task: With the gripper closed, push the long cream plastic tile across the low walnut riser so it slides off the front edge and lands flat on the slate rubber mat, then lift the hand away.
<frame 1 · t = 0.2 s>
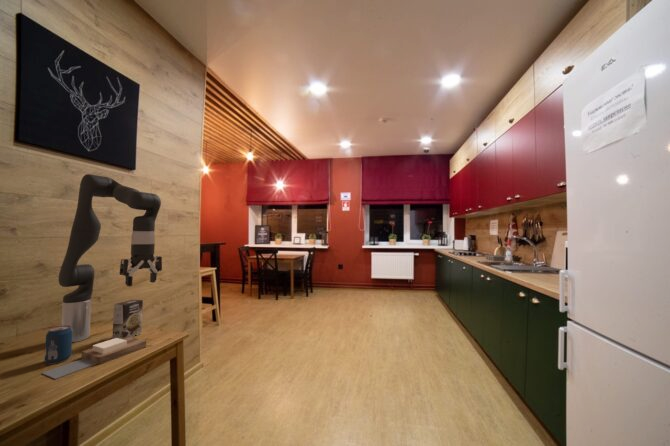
hand: (141, 284, 103), 28 cm above the table, tool pointing down, fingers open, 8 cm apart
tile: (110, 348, 104), point 2 cm above the table, touching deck
mat: (70, 368, 93), on the table
soda can: (58, 360, 99), on the table
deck: (115, 352, 106), on the table
coffee box: (127, 337, 121), on the table
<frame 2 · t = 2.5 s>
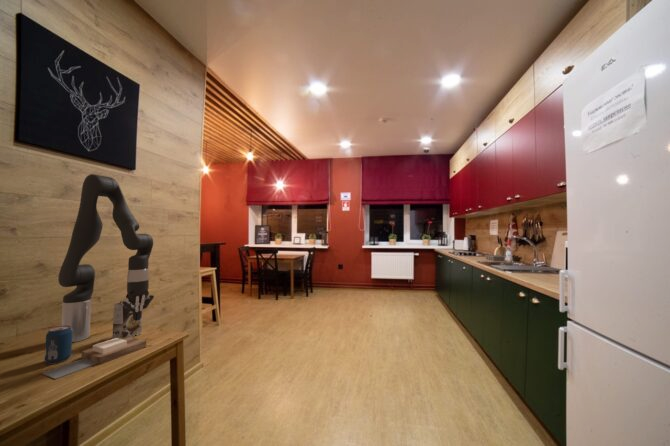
hand: (137, 320, 113), 11 cm above the table, tool pointing down, fingers closed
nothing on the table moved.
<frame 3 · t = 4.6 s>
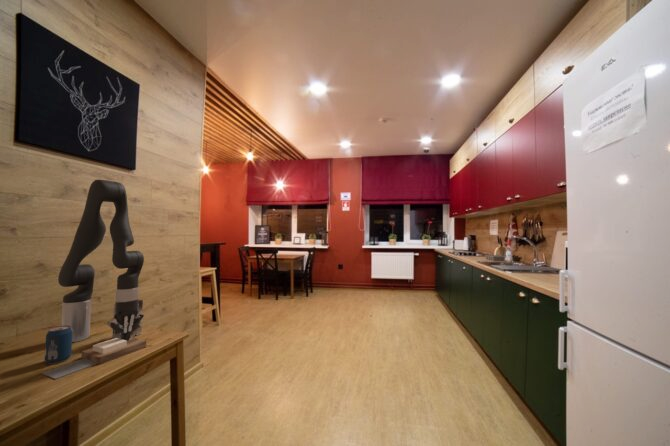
hand: (125, 340, 109), 3 cm above the table, tool pointing down, fingers closed
tile: (110, 348, 104), point 3 cm above the table, touching gripper
everything else where it was.
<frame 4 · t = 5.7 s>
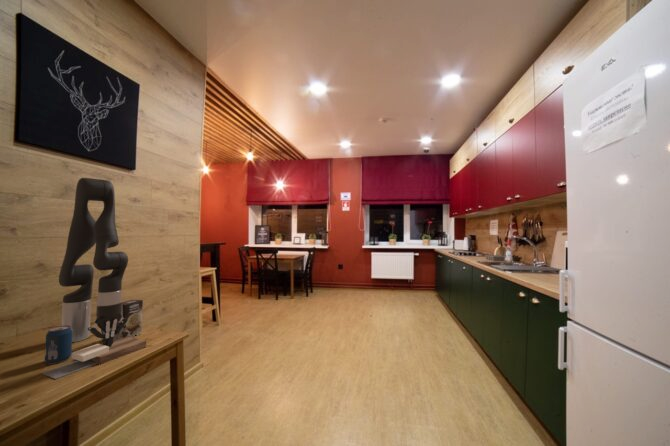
hand: (107, 346, 103), 3 cm above the table, tool pointing down, fingers closed
tile: (90, 355, 98), point 2 cm above the table, touching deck, gripper
everything else where it was.
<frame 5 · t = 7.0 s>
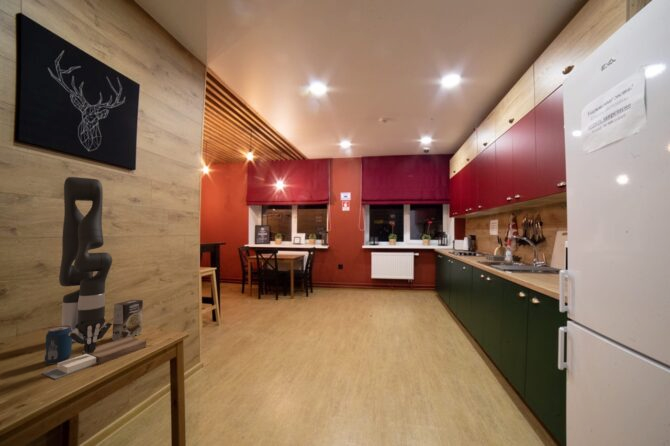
hand: (89, 352, 98), 3 cm above the table, tool pointing down, fingers closed
tile: (77, 365, 94), resting on mat
everything else where it was.
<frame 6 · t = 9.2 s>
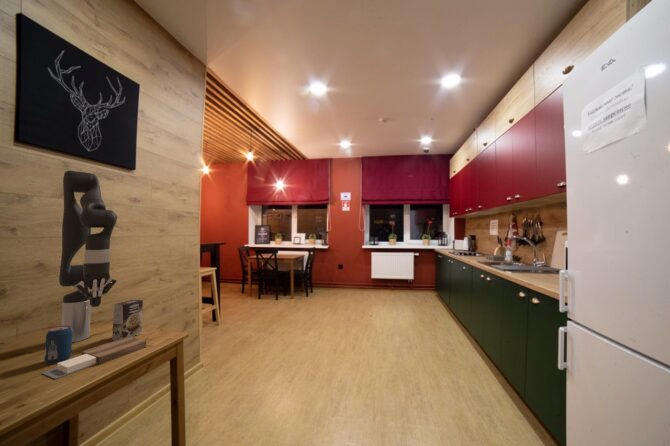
hand: (95, 306, 101), 20 cm above the table, tool pointing down, fingers closed
nothing on the table moved.
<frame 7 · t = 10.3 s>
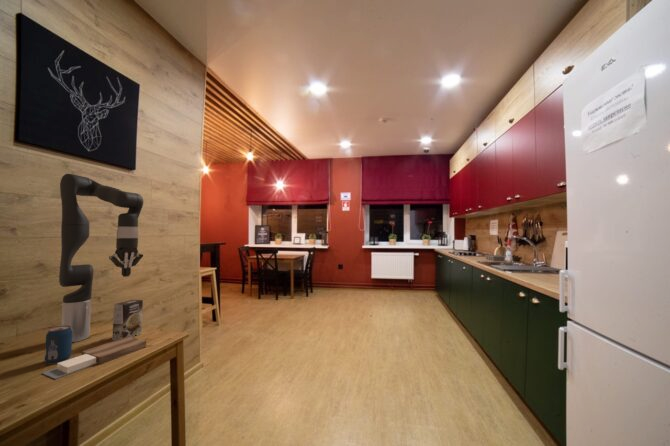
hand: (125, 276, 116), 29 cm above the table, tool pointing down, fingers closed
nothing on the table moved.
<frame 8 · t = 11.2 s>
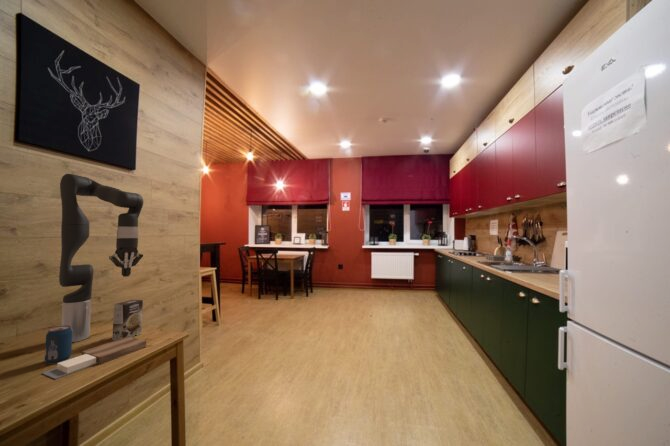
hand: (125, 276, 116), 29 cm above the table, tool pointing down, fingers closed
nothing on the table moved.
at the end: tile resting on mat; tile inside the target area on the mat (1.6 cm from its centre), point 0.3 cm above the mat's base; tile tilted 0° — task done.
